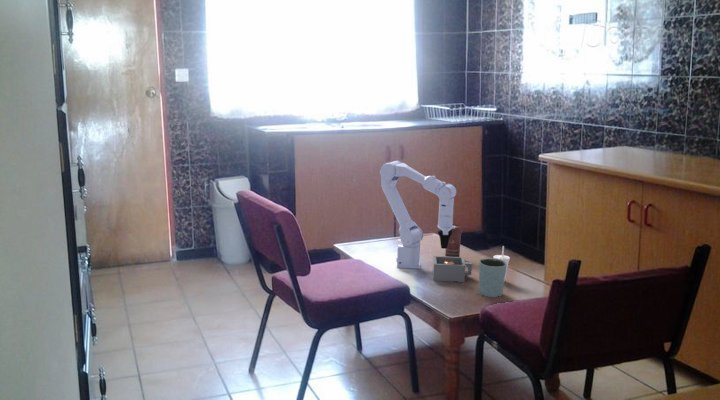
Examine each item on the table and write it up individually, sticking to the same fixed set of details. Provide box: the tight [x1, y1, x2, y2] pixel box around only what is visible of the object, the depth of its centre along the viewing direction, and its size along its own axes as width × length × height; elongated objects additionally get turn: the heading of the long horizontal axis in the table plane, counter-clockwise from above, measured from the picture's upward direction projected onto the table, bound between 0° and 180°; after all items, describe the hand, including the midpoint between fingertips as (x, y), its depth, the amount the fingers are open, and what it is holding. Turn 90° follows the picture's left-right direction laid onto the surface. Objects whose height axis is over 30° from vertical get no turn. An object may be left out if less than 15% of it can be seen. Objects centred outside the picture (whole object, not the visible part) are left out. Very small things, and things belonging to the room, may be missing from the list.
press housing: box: [432, 255, 473, 283], centre depth 287 cm, size 15×12×6 cm
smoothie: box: [492, 245, 511, 283], centre depth 283 cm, size 6×6×14 cm
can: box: [444, 224, 463, 257], centre depth 314 cm, size 6×6×14 cm
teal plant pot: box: [478, 258, 508, 298], centre depth 268 cm, size 10×10×12 cm
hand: (443, 248), depth 292 cm, fingers closed
